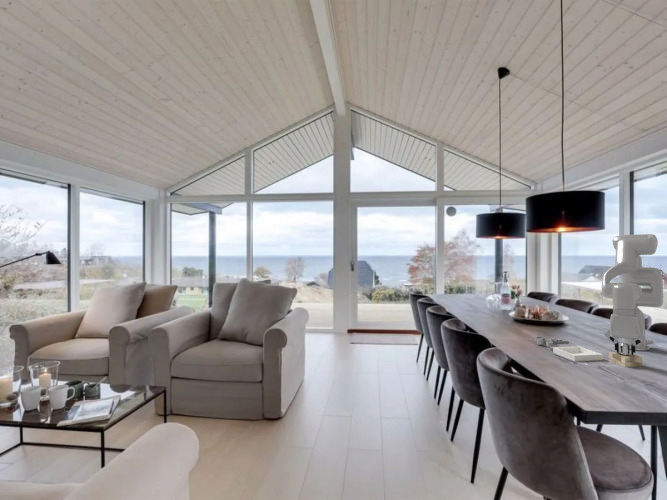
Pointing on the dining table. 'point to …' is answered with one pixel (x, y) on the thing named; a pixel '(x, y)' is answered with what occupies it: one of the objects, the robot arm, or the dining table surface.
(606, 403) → the dining table surface
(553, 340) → the pulley system
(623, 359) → the tan hollow square block
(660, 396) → the dining table surface
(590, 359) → the tray
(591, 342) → the dining table surface
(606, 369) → the dining table surface
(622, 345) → the pin
